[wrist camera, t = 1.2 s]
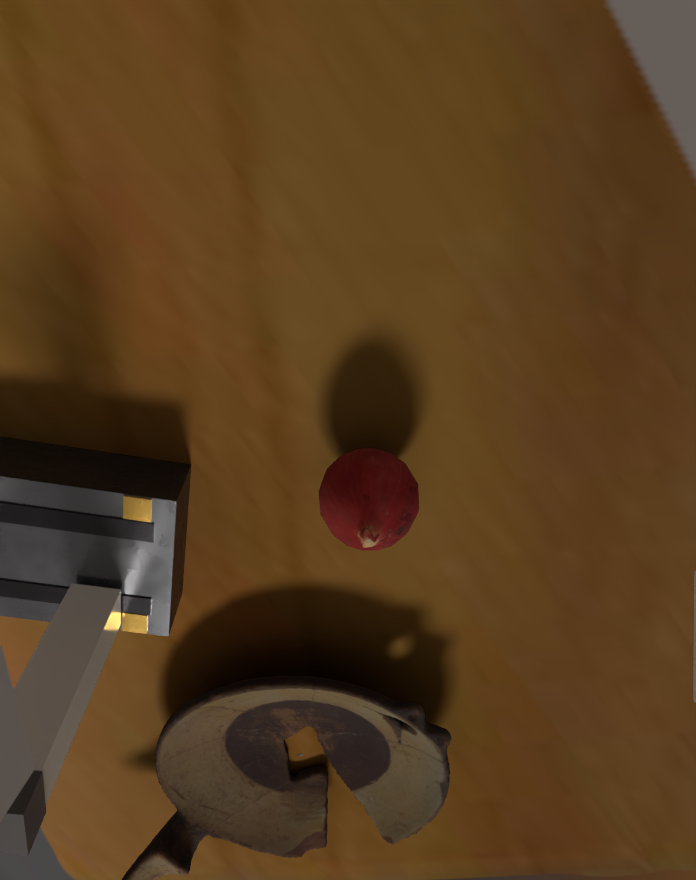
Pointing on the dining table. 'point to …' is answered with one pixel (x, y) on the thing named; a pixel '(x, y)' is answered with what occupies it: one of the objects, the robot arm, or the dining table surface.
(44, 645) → the white capped post
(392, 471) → the onion
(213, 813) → the broken bowl
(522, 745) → the dining table surface
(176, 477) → the console
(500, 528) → the dining table surface
